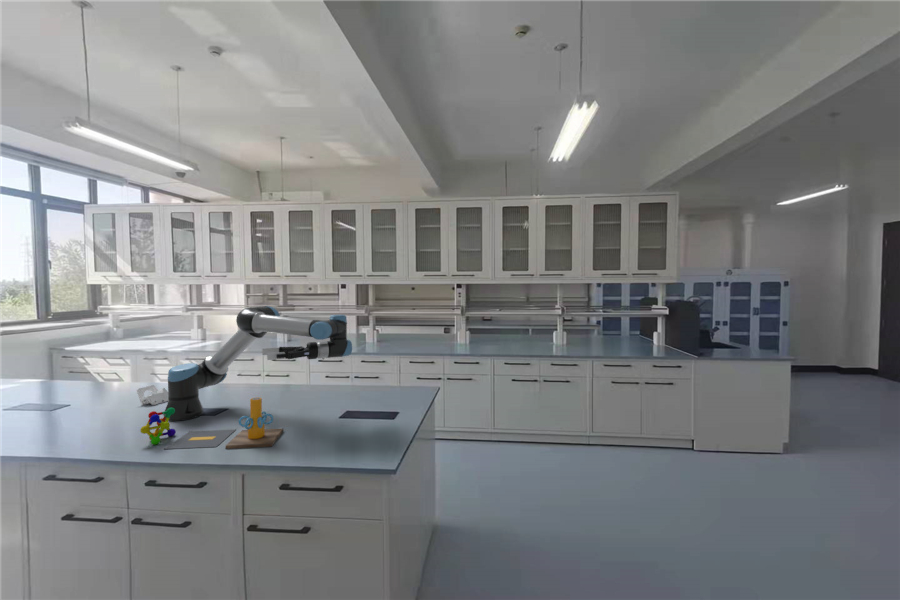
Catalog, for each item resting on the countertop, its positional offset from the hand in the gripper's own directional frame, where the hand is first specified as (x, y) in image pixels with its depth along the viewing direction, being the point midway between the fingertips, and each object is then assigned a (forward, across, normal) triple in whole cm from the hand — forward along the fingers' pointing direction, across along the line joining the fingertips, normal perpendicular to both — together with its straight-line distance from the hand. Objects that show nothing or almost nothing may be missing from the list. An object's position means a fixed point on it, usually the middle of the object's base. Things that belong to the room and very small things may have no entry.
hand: (264, 354), depth 163 cm
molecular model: (+36, +10, -32) cm, 49 cm away
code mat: (+22, +2, -32) cm, 39 cm away
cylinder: (+4, -10, -31) cm, 33 cm away
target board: (+4, -10, -32) cm, 34 cm away
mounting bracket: (+42, +73, -32) cm, 90 cm away
